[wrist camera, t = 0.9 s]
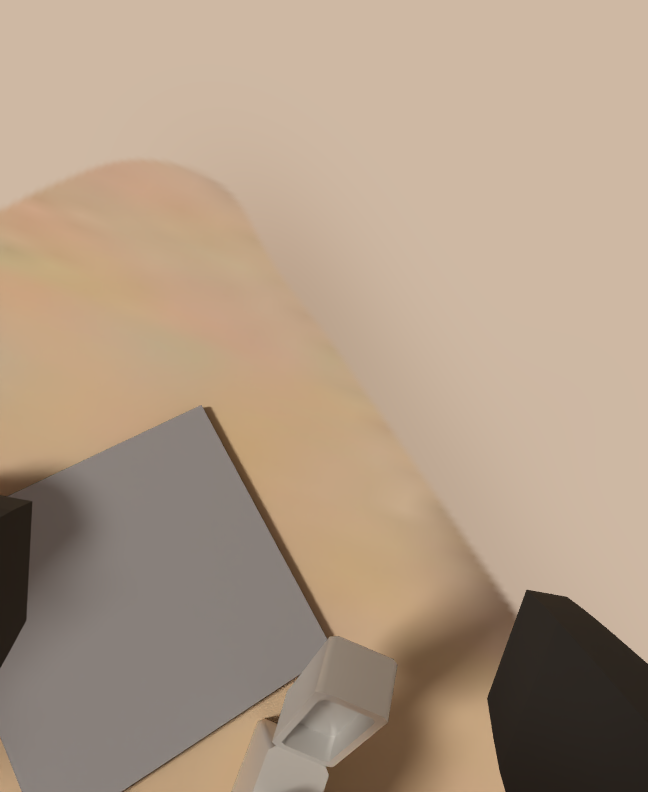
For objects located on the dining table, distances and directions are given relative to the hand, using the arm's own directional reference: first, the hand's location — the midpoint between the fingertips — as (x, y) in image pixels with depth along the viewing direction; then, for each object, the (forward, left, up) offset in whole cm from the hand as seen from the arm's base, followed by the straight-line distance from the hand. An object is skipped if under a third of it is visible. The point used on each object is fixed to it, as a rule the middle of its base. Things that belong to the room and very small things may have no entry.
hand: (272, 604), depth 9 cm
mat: (+2, +3, -13) cm, 13 cm away
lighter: (-4, +1, -13) cm, 14 cm away
